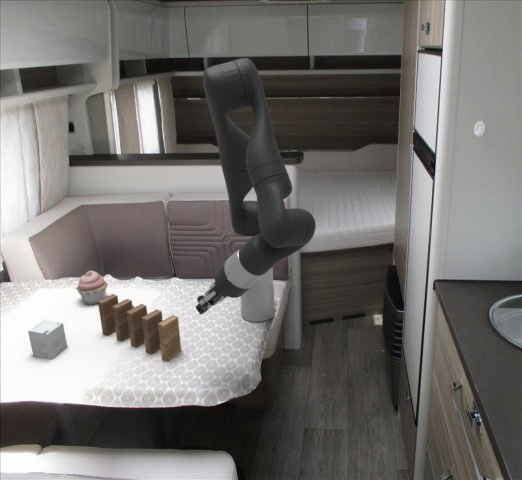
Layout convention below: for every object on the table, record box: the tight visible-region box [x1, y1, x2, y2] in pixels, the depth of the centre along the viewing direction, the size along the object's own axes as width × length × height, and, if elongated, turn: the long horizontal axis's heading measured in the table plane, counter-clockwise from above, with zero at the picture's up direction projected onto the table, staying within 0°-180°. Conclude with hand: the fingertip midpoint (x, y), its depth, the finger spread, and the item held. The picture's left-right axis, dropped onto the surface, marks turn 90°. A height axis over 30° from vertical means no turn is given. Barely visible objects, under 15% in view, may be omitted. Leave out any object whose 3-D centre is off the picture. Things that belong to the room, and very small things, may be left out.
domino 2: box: [112, 298, 133, 343], centre depth 135 cm, size 2×5×10 cm, turn 145°
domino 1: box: [97, 293, 119, 337], centre depth 138 cm, size 2×5×10 cm, turn 145°
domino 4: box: [142, 309, 163, 356], centre depth 129 cm, size 2×5×10 cm, turn 145°
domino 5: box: [158, 314, 182, 362], centre depth 126 cm, size 2×5×10 cm, turn 146°
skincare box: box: [27, 319, 68, 360], centre depth 130 cm, size 6×6×7 cm
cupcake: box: [75, 270, 109, 305], centre depth 156 cm, size 9×9×10 cm
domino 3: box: [127, 303, 148, 349], centre depth 132 cm, size 2×5×10 cm, turn 145°
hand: (200, 309), depth 116 cm, fingers closed
